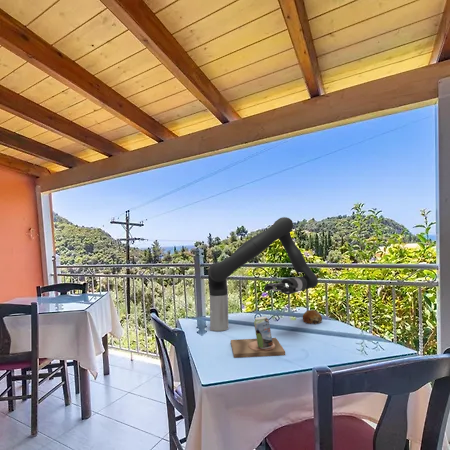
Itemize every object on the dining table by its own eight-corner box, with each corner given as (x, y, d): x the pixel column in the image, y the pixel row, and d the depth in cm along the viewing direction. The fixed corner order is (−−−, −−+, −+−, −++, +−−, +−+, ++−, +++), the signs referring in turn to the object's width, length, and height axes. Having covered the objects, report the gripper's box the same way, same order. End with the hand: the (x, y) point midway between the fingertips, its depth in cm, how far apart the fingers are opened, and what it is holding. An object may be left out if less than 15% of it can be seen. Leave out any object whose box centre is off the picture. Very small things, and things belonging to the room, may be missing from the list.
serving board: (234, 357, 118) (233, 353, 118) (230, 343, 134) (230, 339, 134) (285, 355, 119) (285, 350, 119) (276, 341, 135) (275, 337, 135)
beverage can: (270, 351, 118) (269, 320, 119) (252, 348, 121) (251, 318, 122) (274, 346, 124) (273, 316, 124) (257, 343, 127) (256, 314, 128)
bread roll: (322, 327, 164) (322, 312, 168) (321, 324, 156) (321, 308, 159) (303, 326, 168) (303, 311, 171) (301, 322, 159) (301, 307, 162)
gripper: (278, 276, 153) (259, 279, 140) (305, 278, 143) (287, 282, 131) (278, 291, 152) (259, 296, 140) (305, 295, 143) (287, 300, 131)
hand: (273, 289), depth 136 cm, fingers open, 8 cm apart
